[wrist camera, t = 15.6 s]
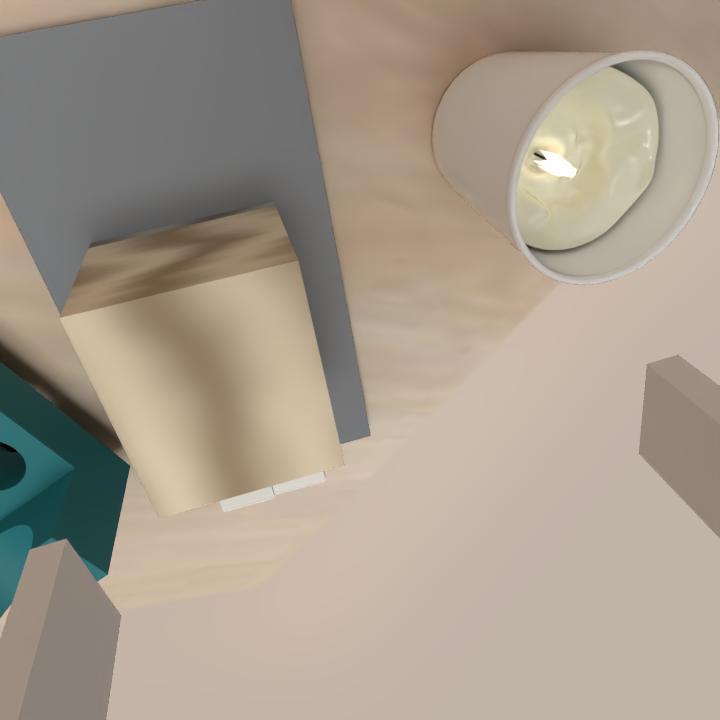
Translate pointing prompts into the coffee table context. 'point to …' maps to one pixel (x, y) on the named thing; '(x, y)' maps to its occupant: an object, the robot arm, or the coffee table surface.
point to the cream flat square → (299, 483)
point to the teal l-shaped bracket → (52, 485)
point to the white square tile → (247, 499)
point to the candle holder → (580, 154)
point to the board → (172, 147)
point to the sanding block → (205, 357)
